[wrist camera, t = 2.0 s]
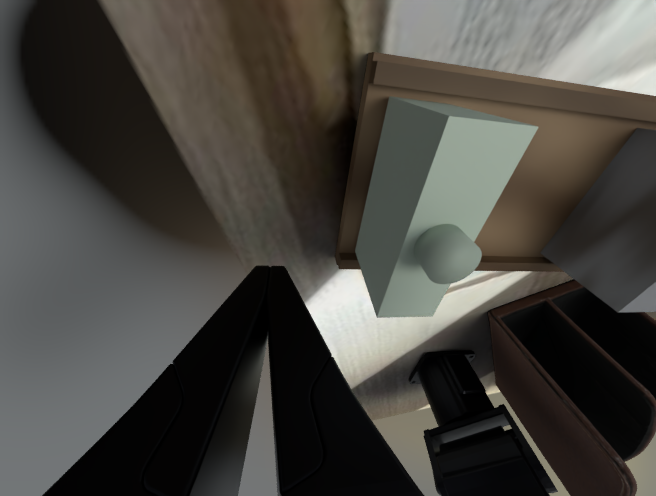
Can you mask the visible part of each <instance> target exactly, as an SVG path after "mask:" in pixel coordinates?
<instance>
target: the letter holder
mask: <svg viewBox="0 0 656 496" xmlns="http://www.w3.org/2000/svg"><path fill="white" fill-rule="evenodd" d="M488 317H489V323H490V331H491V341H492V352H493V362H494V371H495V380H496V385H497V387H498V388H499V390H500V391H501V393H502V394H503V396H504V397H505V398H506V400H507V401H508V403H509V404H510V406H511V407H512V409H513V411H514V412H515V414H516V415H517V417H518V418H519V420H520V421H521V423H522V424H523V425H524V427H525V429H526V430H527V432H528V433H529V435H530V436H531V438H532V439H533V441H534V442H535V444H536V445H537V447H538V448H539V450H540V451H541V453H542V454H543V456H544V457H545V459H546V460H547V462H548V463H549V465H550V466H551V468H552V469H553V470H554V472H555V473H556V475H557V476H558V478H559V479H560V480H561V482H562V484H563V485H564V487H565V488H566V490H567V491H568V493H569V494H570V495H571V496H635V494H636V491H637V484H636V481H635V478H634V476H633V474H632V473H631V471H630V469H629V468H628V467H627V465H626V463H625V461H628V460H630V459H632V458H633V457H635V456H637V455H639V454H640V453H641V452H642V451H643V450H644V449H645V448H646V447H647V446H648V444H649V443H650V441H651V440H652V438H653V436H654V434H655V432H656V320H654V319H653V318H652V317H650V316H649V315H647V314H646V313H645V312H617V311H615V310H614V309H613V308H611V307H610V306H609V305H608V304H606V303H605V302H604V301H602V300H601V299H600V298H598V297H597V296H596V295H594V294H593V293H592V292H590V291H589V290H588V289H587V288H585V287H584V286H583V285H581V284H580V283H579V282H577V281H576V280H572V281H570V282H567V283H564V284H561V285H558V286H556V287H553V288H550V289H547V290H544V291H542V292H539V293H536V294H533V295H530V296H528V297H525V298H522V299H519V300H517V301H514V302H511V303H508V304H506V305H503V306H500V307H497V308H495V309H492V310H490V311H488Z"/></svg>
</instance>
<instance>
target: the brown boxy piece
mask: <svg viewBox="0 0 656 496" xmlns="http://www.w3.org/2000/svg"><path fill="white" fill-rule="evenodd" d="M389 96H391V97H399V98H407V99H415V100H423V101H430V102H438V103H446V104H451V105H455V106H459V107H463V108H467V109H471V110H475V111H479V112H483V113H487V114H491V115H494V116H498V117H502V118H506V119H510V120H514V121H518V122H522V123H526V124H530V125H534V126H538V129H537V131H536V133H535V135H534V136H533V138H532V140H531V142H530V143H529V145H528V147H527V149H526V151H525V152H524V154H523V156H522V158H521V159H520V161H519V163H518V165H517V167H516V168H515V170H514V172H513V174H512V175H511V177H510V179H509V181H508V183H507V184H506V186H505V188H504V190H503V191H502V193H501V195H500V197H499V199H498V200H497V202H496V204H495V206H494V207H493V209H492V211H491V213H490V215H489V216H488V218H487V220H486V222H485V224H484V225H483V227H482V229H481V231H480V232H479V234H478V236H477V238H476V240H475V241H474V243H475V244H476V245H477V246H478V247H479V248H480V250H481V253H482V257H481V261H480V263H479V265H478V266H477V268H476V269H475V270H474V271H555V272H566V273H567V274H568V275H570V276H571V277H572V278H573V279H575V280H576V281H577V282H579V283H580V284H581V285H583V286H584V287H585V288H587V289H588V290H589V291H590V292H592V293H593V294H594V295H596V296H597V297H598V298H600V299H601V300H602V301H604V302H605V303H606V304H608V305H609V306H610V307H611V308H613V309H614V310H615V311H617V312H656V96H651V95H645V94H638V93H632V92H625V91H619V90H613V89H606V88H600V87H593V86H587V85H581V84H574V83H568V82H562V81H555V80H549V79H542V78H536V77H530V76H523V75H517V74H510V73H504V72H498V71H491V70H485V69H478V68H472V67H466V66H459V65H453V64H446V63H440V62H434V61H427V60H421V59H414V58H408V57H402V56H395V55H389V54H382V53H376V52H372V53H368V59H367V65H366V72H365V78H364V84H363V90H362V96H361V102H360V108H359V114H358V120H357V126H356V132H355V138H354V144H353V150H352V156H351V162H350V168H349V174H348V180H347V187H346V193H345V199H344V205H343V211H342V217H341V223H340V229H339V235H338V241H337V247H336V253H335V258H336V263H337V265H338V266H339V269H361V268H360V265H359V262H358V259H357V256H356V253H355V249H356V244H357V240H358V235H359V231H360V226H361V222H362V217H363V213H364V208H365V204H366V199H367V195H368V190H369V186H370V181H371V177H372V172H373V168H374V163H375V159H376V154H377V150H378V145H379V141H380V136H381V132H382V127H383V123H384V118H385V114H386V109H387V105H388V100H389Z"/></svg>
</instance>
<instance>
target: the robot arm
mask: <svg viewBox="0 0 656 496" xmlns="http://www.w3.org/2000/svg"><path fill="white" fill-rule="evenodd" d="M267 340H268V346H269V362H270V378H271V394H272V411H273V425H274V426H273V428H274V442H275V443H274V444H275V458H276V476H277V492H278V496H424V495H423V494H422V492H421V491H420V490H419V488H418V487H417V485H416V484H415V483H414V481H413V480H412V478H411V477H410V476H409V474H408V473H407V471H406V470H405V468H404V467H403V465H402V464H401V463H400V461H399V460H398V458H397V457H396V455H395V454H394V453H393V451H392V450H391V448H390V447H389V445H388V444H387V443H386V441H385V440H384V438H383V436H382V435H381V434H380V432H379V431H378V430H377V428H376V426H375V425H374V424H373V422H372V421H371V419H370V418H369V416H368V415H367V413H366V412H365V410H364V409H363V407H362V406H361V404H360V402H359V401H358V399H357V398H356V396H355V395H354V393H353V392H352V390H351V388H350V387H349V385H348V383H347V381H346V380H345V378H344V376H343V374H342V373H341V371H340V369H339V367H338V365H337V363H336V361H335V360H334V358H333V357H331V352H330V350H329V349H328V347H327V345H326V343H325V341H324V339H323V337H322V335H321V334H320V332H319V330H318V328H317V326H316V324H315V322H314V320H313V318H312V317H311V315H310V313H309V311H308V309H307V307H306V305H305V303H304V302H303V300H302V298H301V296H300V294H299V292H298V290H297V288H296V286H295V285H294V283H293V281H292V279H291V277H290V275H289V273H288V271H287V270H286V268H285V267H284V266H271V268H270V266H255V267H254V268H253V270H252V271H251V272H250V273H249V274H248V275H247V276H246V278H245V279H244V280H243V281H242V282H241V283H240V285H239V286H238V287H237V288H236V289H235V290H234V291H233V293H232V294H231V295H230V296H229V297H228V298H227V300H226V301H225V302H224V303H223V304H222V305H221V306H220V308H219V309H218V310H217V311H216V312H215V313H214V314H213V316H212V317H211V318H210V319H209V320H208V321H207V322H206V324H205V325H204V326H203V327H202V328H201V329H200V330H199V332H198V333H197V334H196V335H195V336H194V337H193V339H192V340H191V341H190V342H189V343H188V344H187V345H186V347H185V348H184V349H183V350H182V351H181V353H179V355H178V356H177V357H176V358H175V359H174V360H173V364H170V365H169V366H168V367H167V368H166V369H165V370H164V372H163V373H162V374H161V375H160V376H159V377H158V379H157V380H156V381H155V382H154V383H153V384H152V385H151V386H150V388H148V389H147V391H146V392H145V393H144V394H143V395H142V396H141V397H140V398H139V399H138V401H137V402H136V403H135V404H134V405H133V406H132V407H131V408H130V409H129V410H128V411H127V412H126V413H125V414H124V415H123V416H122V417H121V418H120V419H119V420H118V421H117V422H116V423H115V424H114V425H113V426H112V427H111V428H110V429H109V430H108V431H107V432H106V433H105V434H104V435H103V436H102V437H101V438H100V439H99V440H98V441H97V442H96V443H95V444H94V445H93V446H92V447H91V448H90V449H89V450H88V451H87V452H86V453H85V454H84V455H83V456H82V457H81V458H80V459H79V460H78V461H77V462H76V463H75V464H74V465H73V466H72V467H71V468H70V469H69V470H68V471H67V472H66V473H65V474H64V475H63V476H62V477H61V478H60V479H59V480H58V481H57V482H56V483H54V484H53V486H51V487H50V488H49V489H48V490H47V491H46V492H45V493H44V494H43V495H42V496H238V491H239V486H240V481H241V476H242V471H243V465H244V460H245V455H246V450H247V444H248V440H249V434H250V429H251V424H252V418H253V414H254V408H255V403H256V397H257V393H258V388H259V382H260V377H261V372H262V367H263V361H264V357H265V351H266V346H267ZM475 356H476V355H475V353H474V352H473V351H466V352H444V353H427V354H425V355H423V357H422V359H421V360H420V362H419V363H418V365H417V367H416V368H415V370H414V371H413V373H412V375H411V376H410V378H409V382H410V384H420V383H421V384H422V386H423V389H424V391H425V394H426V396H427V399H428V401H429V404H430V406H431V409H432V411H433V414H434V416H435V419H436V421H437V424H438V426H439V427H437V428H434V429H431V430H428V429H427V430H425V431H424V439H425V442H426V446H427V450H428V454H429V458H430V461H431V465H432V469H433V475H434V481H435V487H436V490H437V492H438V494H439V495H441V496H550V495H549V494H548V493H554V492H558V491H557V489H556V488H555V486H554V484H553V482H552V481H551V479H550V477H549V476H548V474H547V473H546V471H545V469H544V468H543V466H542V465H541V464H540V461H539V460H538V458H537V456H536V455H535V453H534V452H533V450H532V448H531V447H530V445H529V444H528V442H527V441H526V439H525V437H524V436H523V434H522V432H521V431H520V429H519V428H518V426H517V425H516V423H515V421H514V420H513V418H512V416H511V415H510V413H509V412H508V410H507V409H506V407H505V405H504V404H502V405H499V407H497V408H494V406H493V405H492V403H491V401H490V400H489V398H488V396H487V394H486V393H485V392H486V390H485V388H484V386H483V385H482V383H481V381H480V380H479V378H478V376H477V375H476V373H475V371H474V369H473V368H472V366H471V364H470V362H471V361H472V360H473V359H474V358H475ZM507 425H510V426H511V427H512V429H510V430H506V431H504V429H503V427H504V426H507Z"/></svg>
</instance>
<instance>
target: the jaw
mask: <svg viewBox="0 0 656 496" xmlns="http://www.w3.org/2000/svg"><path fill="white" fill-rule="evenodd" d="M537 129H538V126H534V125H530V124H526V123H522V122H518V121H514V120H510V119H506V118H502V117H498V116H494V115H491V114H487V113H483V112H479V111H475V110H471V109H467V108H463V107H459V106H455V105H451V104H446V103H438V102H430V101H423V100H415V99H407V98H399V97H391V96H389V100H388V105H387V109H386V114H385V118H384V123H383V127H382V132H381V136H380V141H379V145H378V150H377V154H376V159H375V163H374V168H373V172H372V177H371V181H370V186H369V190H368V195H367V199H366V204H365V208H364V213H363V217H362V222H361V226H360V231H359V235H358V240H357V244H356V249H355V253H356V256H357V259H358V262H359V265H360V268H361V271H362V274H363V277H364V280H365V283H366V286H367V289H368V292H369V295H370V298H371V301H372V304H373V307H374V310H375V313H376V316H377V318H379V317H426V316H433V314H434V312H435V311H436V309H437V307H438V305H439V304H440V302H441V300H442V298H443V296H444V295H445V293H446V291H447V289H448V288H449V286H450V284H451V283H454V282H457V281H460V280H462V279H464V278H465V277H467V276H468V275H470V274H471V273H472V272H473V271H474V270H475V269H476V268H477V266H478V265H479V263H480V261H481V257H482V253H481V250H480V248H479V247H478V246H477V245H476V244H475V243H474V241H475V240H476V238H477V236H478V234H479V232H480V231H481V229H482V227H483V225H484V224H485V222H486V220H487V218H488V216H489V215H490V213H491V211H492V209H493V207H494V206H495V204H496V202H497V200H498V199H499V197H500V195H501V193H502V191H503V190H504V188H505V186H506V184H507V183H508V181H509V179H510V177H511V175H512V174H513V172H514V170H515V168H516V167H517V165H518V163H519V161H520V159H521V158H522V156H523V154H524V152H525V151H526V149H527V147H528V145H529V143H530V142H531V140H532V138H533V136H534V135H535V133H536V131H537Z"/></svg>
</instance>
